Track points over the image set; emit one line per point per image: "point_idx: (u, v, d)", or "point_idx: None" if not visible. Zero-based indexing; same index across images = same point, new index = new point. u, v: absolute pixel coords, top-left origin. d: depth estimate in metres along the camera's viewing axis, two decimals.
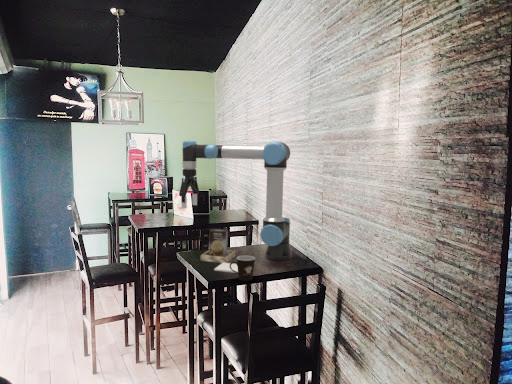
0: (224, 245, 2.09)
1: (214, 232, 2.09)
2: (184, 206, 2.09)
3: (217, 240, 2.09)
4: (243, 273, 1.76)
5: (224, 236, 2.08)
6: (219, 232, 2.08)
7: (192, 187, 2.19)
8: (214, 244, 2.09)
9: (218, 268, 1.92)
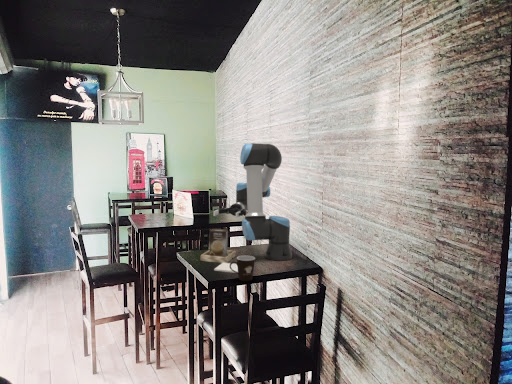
0: (224, 245, 2.09)
1: (214, 232, 2.09)
2: None
3: (217, 240, 2.09)
4: (243, 273, 1.76)
5: (224, 236, 2.08)
6: (219, 232, 2.09)
7: None
8: (214, 244, 2.09)
9: (218, 268, 1.92)
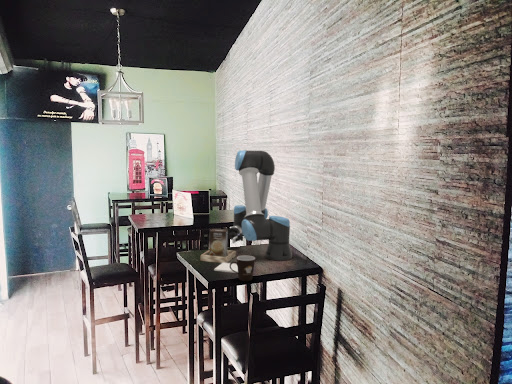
0: (224, 245, 2.09)
1: (214, 232, 2.09)
2: None
3: (217, 240, 2.09)
4: (243, 273, 1.76)
5: (224, 236, 2.08)
6: (219, 232, 2.09)
7: (234, 237, 2.27)
8: (214, 244, 2.09)
9: (218, 268, 1.92)
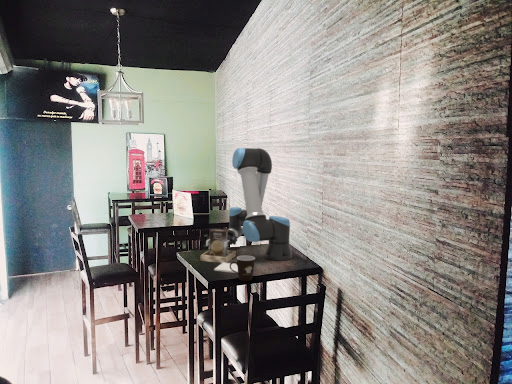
0: None
1: (214, 232, 2.09)
2: None
3: (217, 240, 2.09)
4: (243, 273, 1.76)
5: (224, 236, 2.08)
6: (219, 232, 2.09)
7: (228, 240, 2.18)
8: (214, 243, 2.09)
9: (218, 268, 1.92)
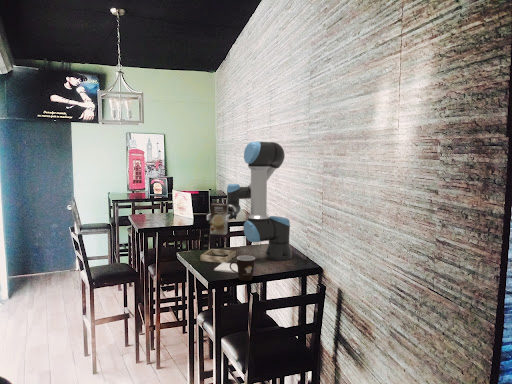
0: (225, 219, 2.06)
1: (215, 206, 2.05)
2: None
3: (218, 214, 2.05)
4: (243, 273, 1.76)
5: (225, 210, 2.05)
6: (220, 206, 2.05)
7: None
8: (215, 218, 2.06)
9: (218, 268, 1.92)
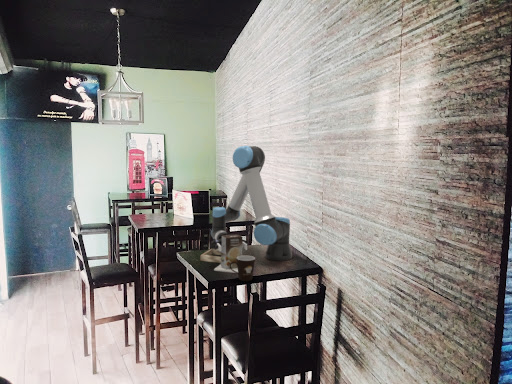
0: (241, 251, 1.94)
1: (231, 239, 1.90)
2: (219, 247, 1.90)
3: (234, 247, 1.92)
4: (243, 273, 1.76)
5: (241, 241, 1.93)
6: (236, 238, 1.92)
7: None
8: (231, 251, 1.91)
9: (218, 268, 1.92)
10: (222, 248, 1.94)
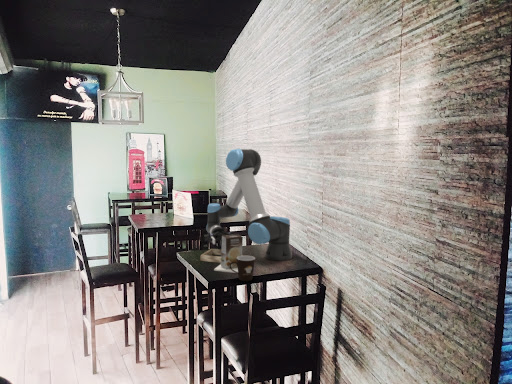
0: (241, 251, 1.94)
1: (231, 239, 1.90)
2: (213, 240, 2.02)
3: (234, 247, 1.92)
4: (243, 273, 1.76)
5: (241, 242, 1.93)
6: (236, 238, 1.92)
7: None
8: (231, 251, 1.91)
9: (218, 268, 1.92)
10: (222, 248, 1.94)
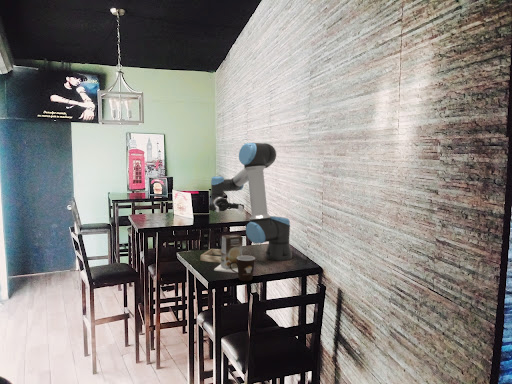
0: (241, 251, 1.94)
1: (231, 239, 1.90)
2: (217, 208, 2.06)
3: (234, 247, 1.92)
4: (243, 273, 1.76)
5: (241, 242, 1.93)
6: (236, 238, 1.92)
7: (232, 206, 2.19)
8: (231, 251, 1.91)
9: (218, 268, 1.92)
10: (222, 248, 1.94)
